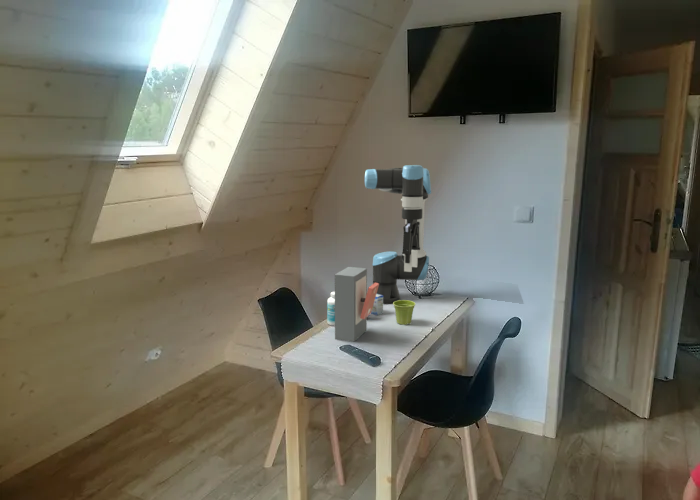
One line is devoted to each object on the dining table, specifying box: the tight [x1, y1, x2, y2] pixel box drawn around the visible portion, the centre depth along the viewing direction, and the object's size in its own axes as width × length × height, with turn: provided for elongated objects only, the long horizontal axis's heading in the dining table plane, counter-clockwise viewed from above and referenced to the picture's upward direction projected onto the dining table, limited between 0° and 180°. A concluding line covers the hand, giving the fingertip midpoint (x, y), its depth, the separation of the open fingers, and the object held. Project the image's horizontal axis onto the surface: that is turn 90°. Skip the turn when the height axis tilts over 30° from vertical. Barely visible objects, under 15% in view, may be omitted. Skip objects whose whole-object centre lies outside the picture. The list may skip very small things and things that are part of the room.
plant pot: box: [392, 299, 416, 326], centre depth 232 cm, size 9×9×9 cm
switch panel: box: [334, 266, 368, 343], centre depth 215 cm, size 14×10×26 cm
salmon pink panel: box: [360, 282, 379, 319], centre depth 212 cm, size 8×2×13 cm, turn 158°
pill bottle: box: [326, 291, 335, 327], centre depth 230 cm, size 8×7×14 cm
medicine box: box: [370, 294, 384, 316], centre depth 245 cm, size 8×4×9 cm, turn 50°
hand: (410, 269), depth 204 cm, fingers open, 7 cm apart
